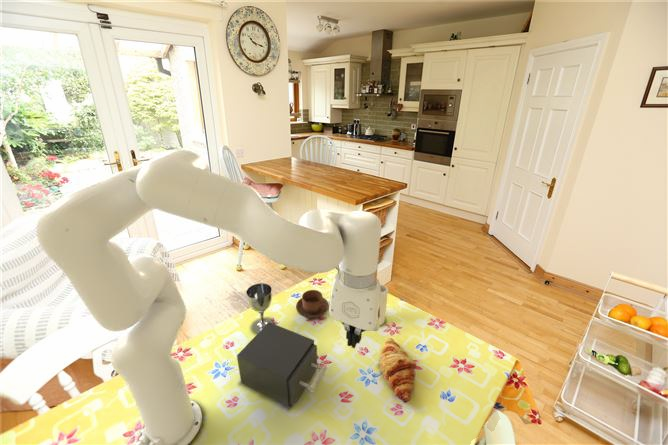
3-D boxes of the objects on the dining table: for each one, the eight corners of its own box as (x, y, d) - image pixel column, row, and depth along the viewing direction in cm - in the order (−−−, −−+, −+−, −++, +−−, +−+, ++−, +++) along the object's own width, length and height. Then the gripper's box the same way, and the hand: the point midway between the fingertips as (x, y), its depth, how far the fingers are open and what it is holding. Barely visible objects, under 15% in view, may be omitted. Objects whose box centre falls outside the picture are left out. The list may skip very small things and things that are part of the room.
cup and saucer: (332, 301, 112) (332, 288, 109) (323, 323, 101) (323, 309, 98) (302, 296, 114) (302, 284, 112) (291, 317, 103) (290, 304, 101)
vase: (353, 326, 100) (356, 278, 92) (350, 312, 107) (353, 265, 98) (385, 324, 101) (391, 276, 93) (381, 310, 108) (385, 264, 99)
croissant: (379, 351, 95) (369, 334, 92) (407, 339, 93) (398, 322, 90) (394, 416, 75) (382, 398, 72) (431, 402, 74) (420, 383, 71)
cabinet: (314, 366, 85) (314, 340, 81) (288, 408, 74) (286, 379, 70) (271, 347, 91) (268, 321, 87) (241, 383, 80) (236, 355, 76)
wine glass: (246, 330, 98) (240, 294, 92) (261, 315, 104) (257, 280, 98) (265, 338, 95) (261, 301, 89) (279, 322, 101) (276, 287, 95)
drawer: (330, 373, 82) (331, 351, 78) (308, 413, 72) (307, 389, 68) (276, 349, 89) (274, 328, 86) (248, 382, 79) (245, 359, 76)
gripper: (315, 273, 57) (315, 342, 64) (389, 295, 51) (380, 368, 59) (332, 255, 63) (330, 320, 71) (399, 273, 57) (390, 342, 65)
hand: (353, 342), depth 65 cm, fingers closed
